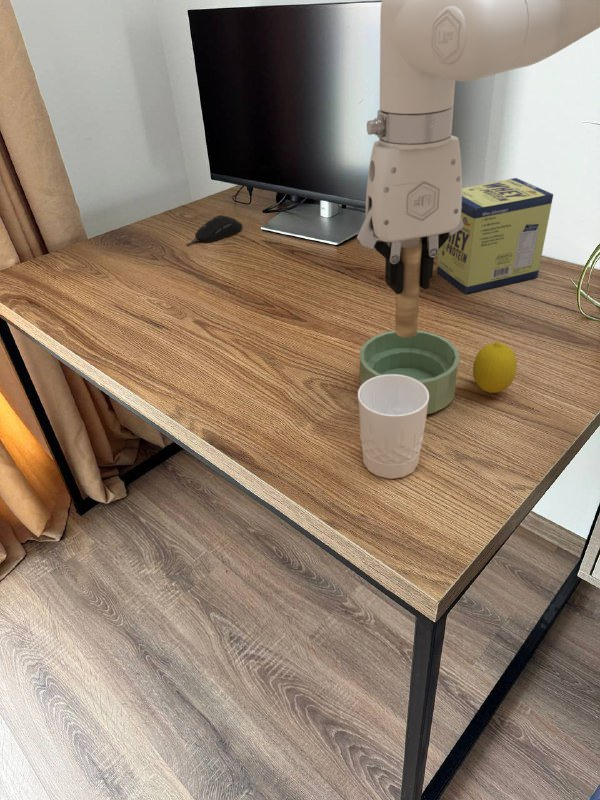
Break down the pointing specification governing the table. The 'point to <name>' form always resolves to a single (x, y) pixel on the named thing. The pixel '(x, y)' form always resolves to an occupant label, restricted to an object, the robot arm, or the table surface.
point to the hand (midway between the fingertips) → (408, 285)
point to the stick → (409, 289)
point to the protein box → (497, 236)
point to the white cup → (392, 424)
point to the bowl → (414, 363)
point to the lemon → (494, 367)
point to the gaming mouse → (217, 229)
